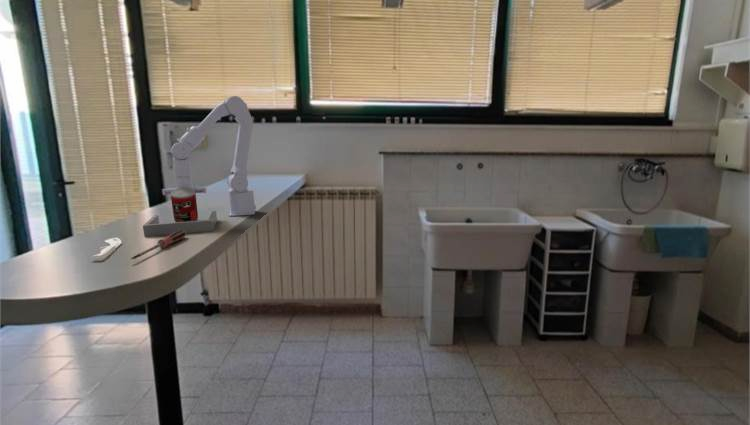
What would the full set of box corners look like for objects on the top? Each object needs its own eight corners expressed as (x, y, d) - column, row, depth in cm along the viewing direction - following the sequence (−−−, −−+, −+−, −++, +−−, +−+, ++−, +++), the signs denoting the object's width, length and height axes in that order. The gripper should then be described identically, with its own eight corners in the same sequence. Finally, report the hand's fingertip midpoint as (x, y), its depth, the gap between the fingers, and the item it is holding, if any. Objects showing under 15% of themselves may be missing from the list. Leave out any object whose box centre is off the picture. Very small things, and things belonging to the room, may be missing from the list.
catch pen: (217, 220, 149) (216, 210, 148) (212, 230, 135) (211, 220, 134) (155, 224, 144) (154, 215, 143) (144, 236, 130) (142, 225, 129)
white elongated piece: (108, 233, 133) (134, 230, 135) (109, 237, 133) (135, 235, 135) (68, 259, 105) (102, 255, 107) (69, 265, 105) (104, 261, 107)
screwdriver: (137, 264, 104) (135, 253, 103) (126, 264, 104) (124, 253, 104) (189, 237, 128) (187, 228, 127) (180, 237, 128) (179, 228, 128)
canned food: (169, 222, 143) (165, 194, 139) (184, 213, 150) (180, 186, 146) (188, 227, 142) (185, 198, 137) (202, 217, 149) (199, 189, 144)
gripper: (206, 174, 153) (209, 209, 155) (163, 175, 149) (168, 211, 152) (203, 176, 146) (207, 213, 149) (159, 178, 142) (163, 215, 145)
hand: (187, 212), depth 150 cm, fingers closed, pressing on canned food
